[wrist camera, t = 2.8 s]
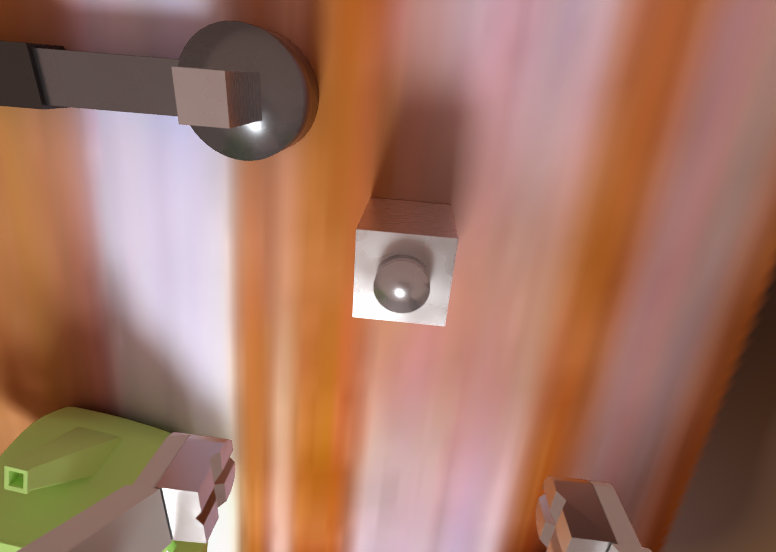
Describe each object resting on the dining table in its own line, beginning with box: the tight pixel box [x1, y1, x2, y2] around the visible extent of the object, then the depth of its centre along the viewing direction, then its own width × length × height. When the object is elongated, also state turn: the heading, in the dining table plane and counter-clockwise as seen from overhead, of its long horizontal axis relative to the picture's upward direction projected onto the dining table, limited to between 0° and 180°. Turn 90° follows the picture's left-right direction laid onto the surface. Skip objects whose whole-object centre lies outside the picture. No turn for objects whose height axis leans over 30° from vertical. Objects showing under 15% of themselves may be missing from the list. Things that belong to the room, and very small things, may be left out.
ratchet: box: [0, 21, 319, 161], centre depth 21 cm, size 21×6×8 cm, turn 86°
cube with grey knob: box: [353, 197, 458, 326], centre depth 24 cm, size 5×5×7 cm
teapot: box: [0, 407, 208, 552], centre depth 32 cm, size 18×20×13 cm
